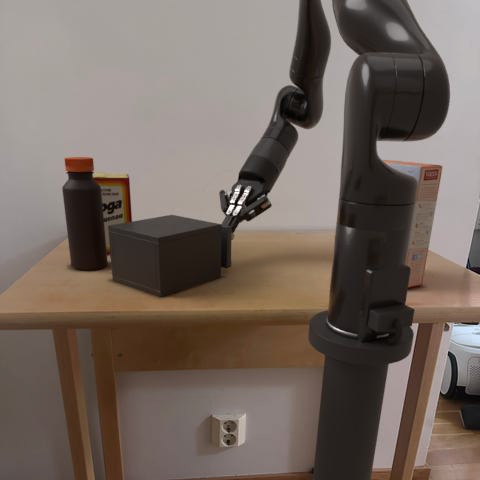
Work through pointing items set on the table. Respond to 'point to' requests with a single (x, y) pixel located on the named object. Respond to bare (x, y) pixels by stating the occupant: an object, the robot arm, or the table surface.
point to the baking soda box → (114, 200)
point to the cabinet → (165, 253)
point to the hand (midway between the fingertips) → (224, 233)
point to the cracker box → (420, 214)
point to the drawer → (226, 245)
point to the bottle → (84, 215)
